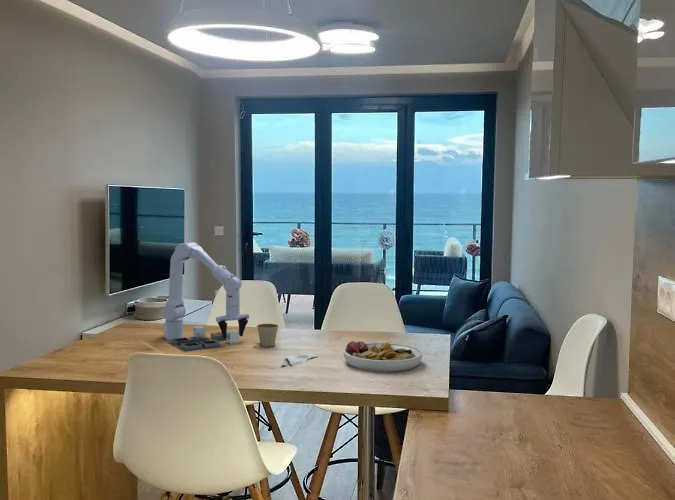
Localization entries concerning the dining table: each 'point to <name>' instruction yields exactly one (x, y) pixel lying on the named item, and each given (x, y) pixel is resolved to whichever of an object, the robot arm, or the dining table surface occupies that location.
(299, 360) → the cloth
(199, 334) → the billet
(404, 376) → the dining table surface
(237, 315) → the robot arm
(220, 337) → the box
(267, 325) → the flower pot
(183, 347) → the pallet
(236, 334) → the billet
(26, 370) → the dining table surface
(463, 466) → the dining table surface
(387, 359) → the bowl
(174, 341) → the pallet
